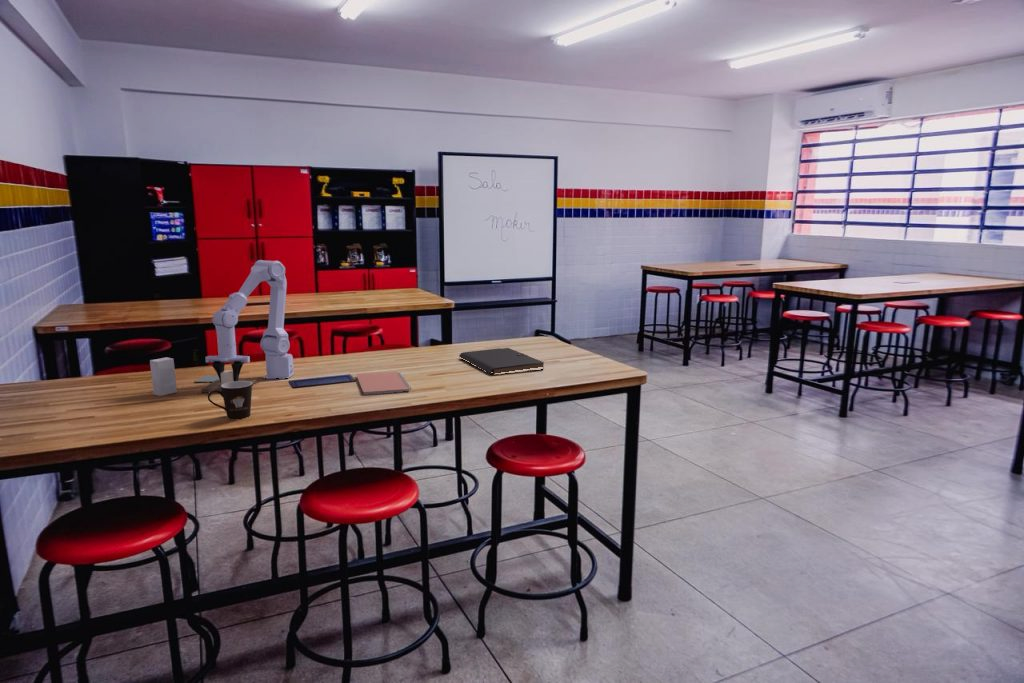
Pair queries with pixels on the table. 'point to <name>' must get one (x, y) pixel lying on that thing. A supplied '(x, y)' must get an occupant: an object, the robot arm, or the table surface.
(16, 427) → the table surface
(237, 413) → the coffee mug
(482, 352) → the dark hardcover book
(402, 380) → the notebook
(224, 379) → the cream block
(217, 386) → the puzzle board
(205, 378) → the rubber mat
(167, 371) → the skincare box
